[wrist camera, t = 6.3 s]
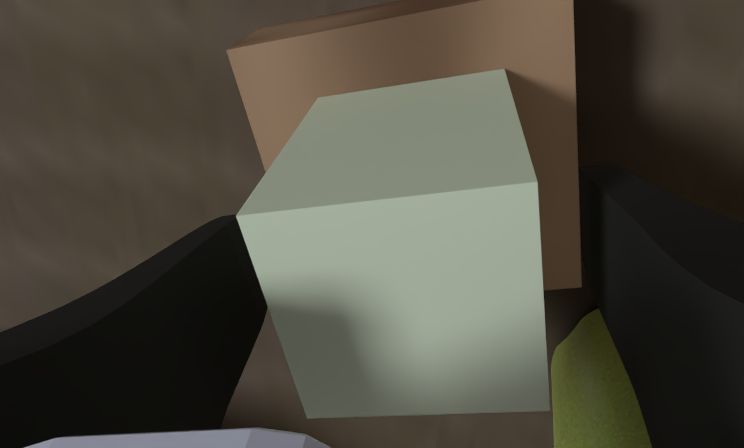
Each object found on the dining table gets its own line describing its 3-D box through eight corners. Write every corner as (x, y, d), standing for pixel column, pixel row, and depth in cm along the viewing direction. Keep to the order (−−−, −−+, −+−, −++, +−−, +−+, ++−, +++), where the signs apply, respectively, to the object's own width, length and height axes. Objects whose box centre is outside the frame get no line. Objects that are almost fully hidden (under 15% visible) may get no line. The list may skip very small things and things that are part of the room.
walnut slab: (329, 256, 20) (310, 310, 17) (263, 26, 16) (226, 50, 13) (563, 232, 18) (581, 287, 16) (551, -33, 14) (572, -18, 12)
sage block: (355, 250, 16) (307, 418, 11) (318, 97, 14) (235, 216, 9) (517, 234, 15) (549, 410, 10) (504, 68, 13) (537, 181, 8)
